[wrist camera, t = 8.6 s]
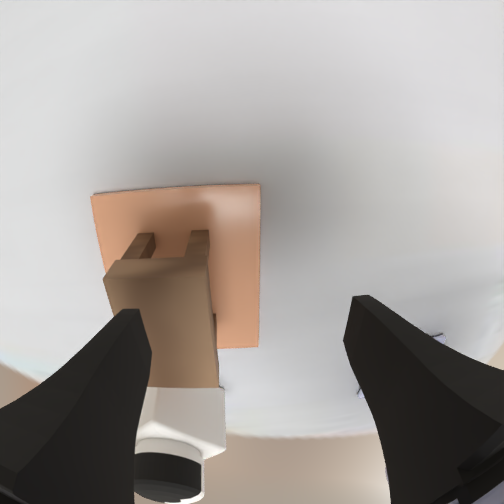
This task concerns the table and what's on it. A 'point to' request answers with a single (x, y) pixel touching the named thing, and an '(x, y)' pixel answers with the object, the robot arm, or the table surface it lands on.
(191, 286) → the brown slotted block
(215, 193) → the terracotta tile
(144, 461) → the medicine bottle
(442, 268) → the table surface
